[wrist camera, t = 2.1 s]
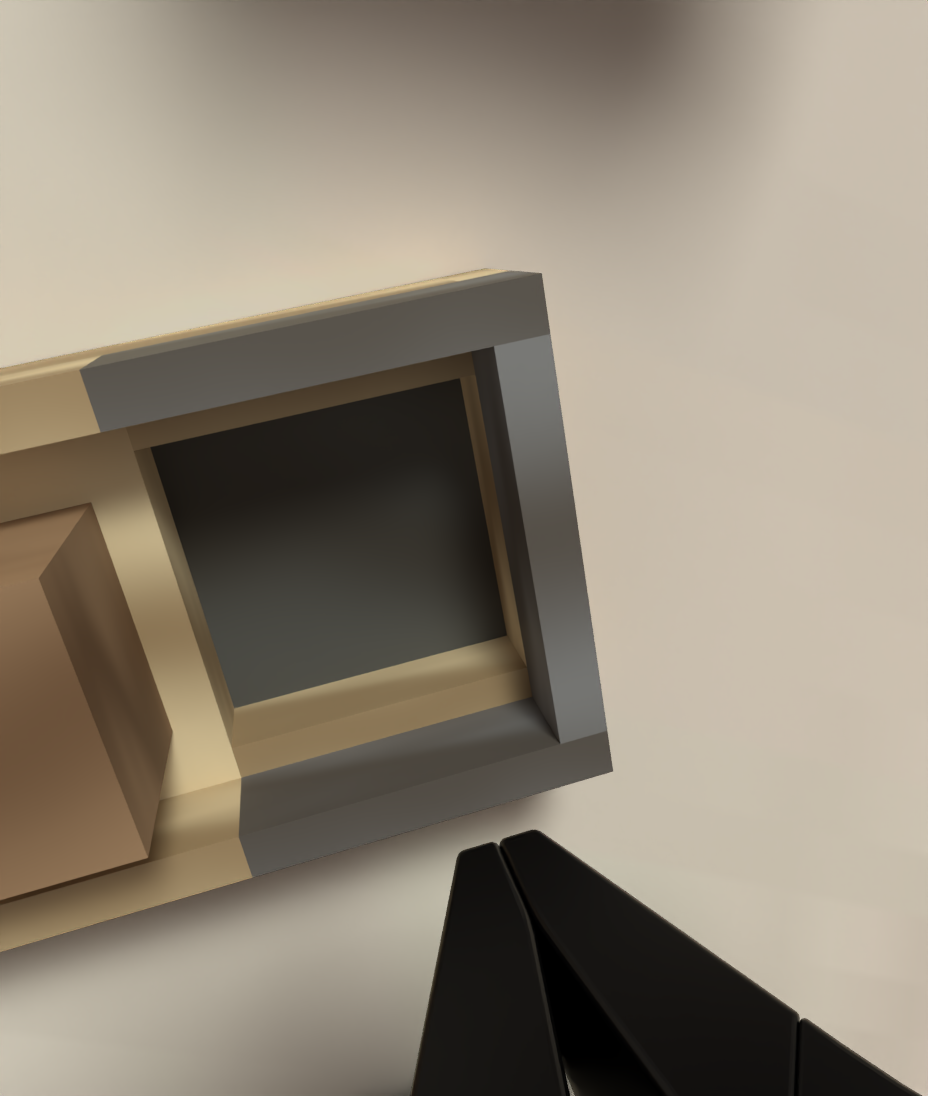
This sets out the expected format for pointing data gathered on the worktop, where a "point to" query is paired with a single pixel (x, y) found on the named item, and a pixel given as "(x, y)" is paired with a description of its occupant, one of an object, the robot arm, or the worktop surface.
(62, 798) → the walnut block
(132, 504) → the box
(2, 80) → the worktop surface
